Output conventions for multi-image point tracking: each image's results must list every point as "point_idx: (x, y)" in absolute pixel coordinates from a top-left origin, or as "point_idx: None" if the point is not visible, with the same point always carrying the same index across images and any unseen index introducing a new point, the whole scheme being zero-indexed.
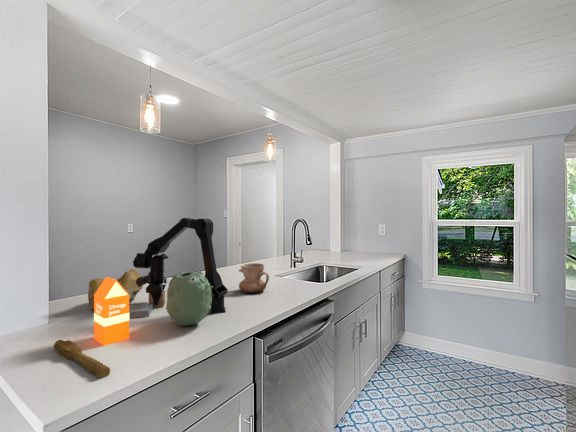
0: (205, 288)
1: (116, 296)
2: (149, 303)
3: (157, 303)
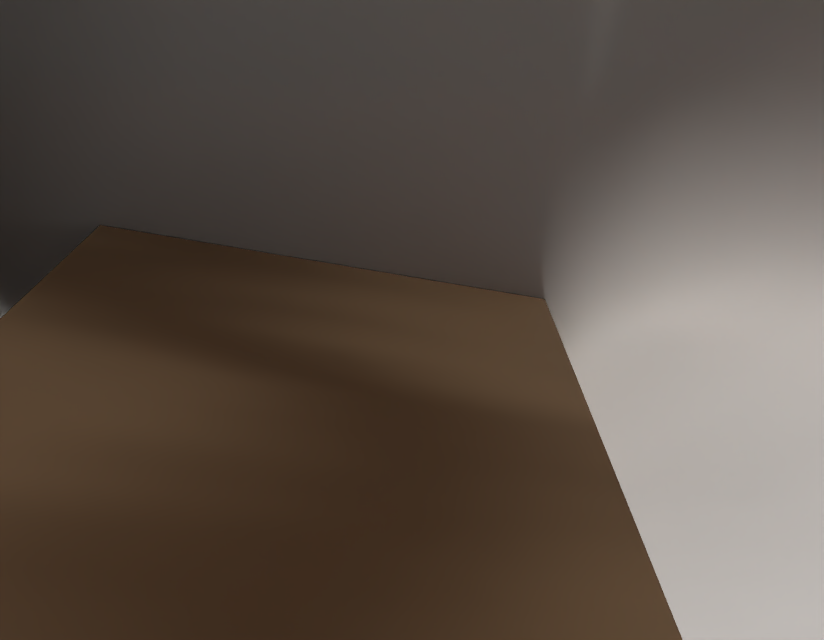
0: None
1: None
2: (14, 338)
3: None
